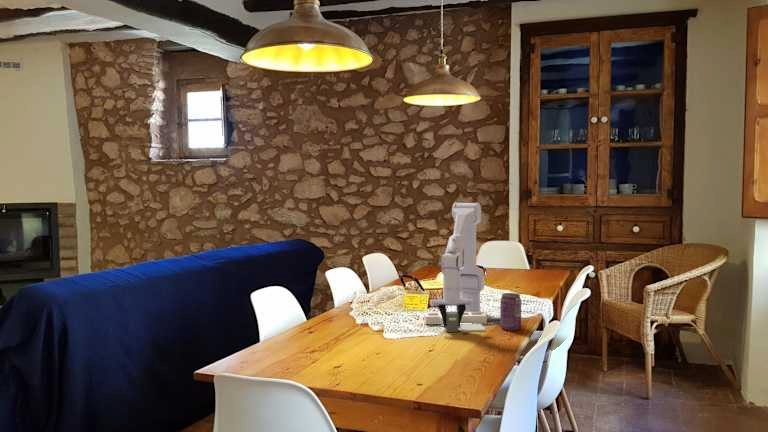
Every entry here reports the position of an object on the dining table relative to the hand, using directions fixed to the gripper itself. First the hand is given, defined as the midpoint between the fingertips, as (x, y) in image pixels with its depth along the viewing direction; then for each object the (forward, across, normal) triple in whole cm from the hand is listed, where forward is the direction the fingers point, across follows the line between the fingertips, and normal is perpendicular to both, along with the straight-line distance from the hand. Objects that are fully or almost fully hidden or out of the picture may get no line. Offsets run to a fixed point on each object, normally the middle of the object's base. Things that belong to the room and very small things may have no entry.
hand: (451, 326), depth 210 cm
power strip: (+2, +6, +10) cm, 12 cm away
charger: (+1, 0, +2) cm, 2 cm away
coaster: (+2, +8, +2) cm, 8 cm away
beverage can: (+2, +21, +2) cm, 21 cm away
